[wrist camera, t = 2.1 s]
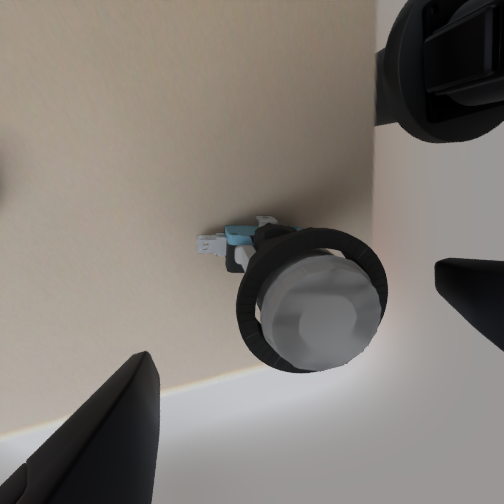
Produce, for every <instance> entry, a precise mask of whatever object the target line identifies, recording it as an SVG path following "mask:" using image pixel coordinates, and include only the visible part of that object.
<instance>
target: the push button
mask: <svg viewBox="0 0 504 504" xmlns="http://www.w3.org/2000/svg"><path fill="white" fill-rule="evenodd" d="M255 218H256V219H257V220H258V221H259V226H240V225H227V226H225V233H215V236H212V235H198V236H197V237H196V252H197V253H216V256H225V258H226V263H225V264H226V268H227V271H228V272H231V273H245V275H244V277H243V279H242V281H241V284H240V287H239V290H238V294H237V300H236V315H237V321H238V325H239V329H240V333H241V335H242V338H243V340H244V342H245V344H246V345H247V347H248V348H249V350H250V351H251V352H252V353H253V354H254V355H255V356H256V357H257V358H258V359H259V360H261V361H262V362H264V363H265V364H267V365H269V366H271V367H273V368H275V369H278V370H282V371H285V372H291V373H311V372H317V371H324V370H327V369H331V368H335V367H339V366H343V365H344V364H347V363H348V362H349V361H350V360H352V359H353V358H354V357H356V356H357V355H359V354H360V353H362V352H363V351H364V349H365V348H366V347H367V346H368V345H369V343H370V341H371V339H372V338H373V336H374V335H375V333H376V332H377V328H378V326H379V324H380V322H381V319H382V318H383V315H384V312H385V309H386V304H387V297H388V284H387V278H386V273H385V270H384V268H383V265H382V263H381V262H380V260H379V258H378V257H377V255H376V254H375V253H374V251H373V250H372V249H371V248H370V247H369V246H368V245H366V244H365V243H364V242H362V241H361V240H359V239H357V238H355V237H353V236H351V235H349V234H347V233H345V232H342V231H339V230H334V229H328V228H311V227H310V228H305V229H302V228H300V227H295V226H282V225H278V221H277V220H276V219H275V218H274V217H271V216H255ZM204 243H207V245H203V244H204ZM325 248H328V249H335V250H339V251H341V252H342V253H343V255H344V256H345V258H346V259H345V258H342V257H338V256H335V255H333V254H332V253H330V252H329V251H328V250H326V249H325ZM204 249H206V250H204ZM256 302H257V305H258V307H259V309H260V312H261V313H260V321H261V323H260V322H259V321H258V320H257V319H256V318H255V305H256Z"/></svg>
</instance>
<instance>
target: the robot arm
mask: <svg viewBox="0 0 504 504" xmlns="http://www.w3.org/2000/svg"><path fill="white" fill-rule="evenodd" d="M431 7H432V8H433V10H434V14H433V13H432V12H431ZM422 29H423V52H424V75H425V98H426V118H427V121H428V122H429V123H431V124H434V123H440V122H443V121H447V120H450V119H454V118H458V117H461V116H465V115H469V114H472V113H476V112H480V111H483V110H487V109H491V108H494V107H498V106H501V105H504V0H430V1H429V2H427V3H426V4H425V5H424V7H423V9H422ZM435 112H437V117H436V118H435ZM434 268H435V287H436V290H437V291H438V293H439V294H440V295H441V296H442V297H443V298H444V299H445V300H446V301H447V302H448V303H449V304H450V305H451V306H453V307H454V308H455V309H456V310H457V311H458V312H459V313H460V314H461V315H462V316H463V317H464V318H465V319H466V320H467V321H468V322H469V323H470V324H471V325H472V326H473V327H475V328H476V329H477V330H478V331H479V332H480V333H481V334H483V335H484V336H485V337H486V338H487V339H489V340H490V341H492V342H493V343H494V344H495V345H496V346H498V347H499V348H500V349H501V350H502V351H504V261H494V260H478V259H462V258H447V259H443V260H440V261H438V262H436V263H435V267H434ZM159 431H160V378H159V373H158V371H157V369H156V366H155V364H154V362H153V360H152V357H151V355H150V354H149V352H147V351H144V352H140V353H137V354H134V355H132V356H131V357H130V358H129V359H128V360H127V361H126V362H125V363H124V364H123V365H122V366H121V367H120V368H119V369H118V370H117V371H116V372H115V373H114V374H113V375H112V376H111V377H110V378H109V379H108V380H107V381H106V382H105V383H104V384H103V385H102V386H101V387H100V388H99V389H98V390H97V391H96V392H95V393H94V394H93V395H92V396H91V397H90V398H89V399H88V400H87V401H86V402H85V403H84V404H83V405H82V406H81V407H80V408H79V409H78V410H77V411H76V412H75V413H74V414H73V415H72V416H71V417H70V418H69V419H68V420H67V421H66V422H65V423H64V424H63V425H62V426H61V427H60V428H58V429H57V431H55V433H54V434H52V435H51V436H50V438H48V439H47V440H46V441H45V443H43V445H41V446H40V447H39V448H38V449H37V451H35V452H34V454H32V455H31V456H30V457H29V458H28V459H27V461H26V463H24V464H22V465H21V466H20V467H19V468H18V469H17V470H16V471H15V472H14V473H13V474H12V475H11V476H10V477H9V478H8V479H7V480H6V481H5V482H4V483H3V484H2V485H1V486H0V504H151V502H152V493H153V485H154V477H155V468H156V459H157V451H158V442H159Z"/></svg>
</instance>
